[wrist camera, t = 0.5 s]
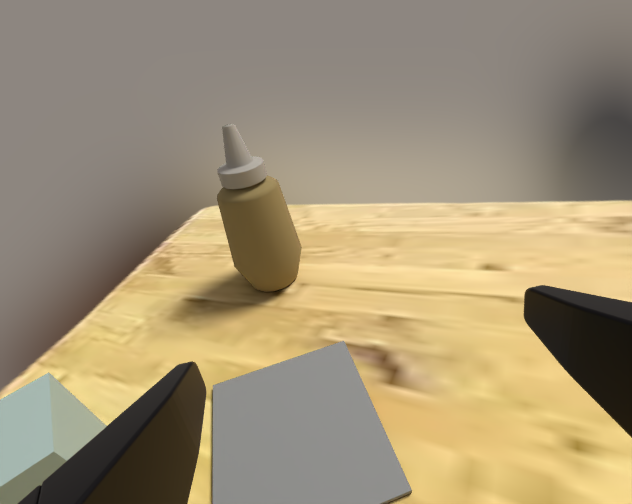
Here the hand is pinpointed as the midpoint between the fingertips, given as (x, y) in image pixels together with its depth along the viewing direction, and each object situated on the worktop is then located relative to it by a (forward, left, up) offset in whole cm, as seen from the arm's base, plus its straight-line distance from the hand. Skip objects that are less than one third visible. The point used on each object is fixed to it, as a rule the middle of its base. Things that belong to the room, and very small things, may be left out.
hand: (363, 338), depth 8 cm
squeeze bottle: (+23, +12, -17) cm, 31 cm away
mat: (+5, +6, -17) cm, 18 cm away
